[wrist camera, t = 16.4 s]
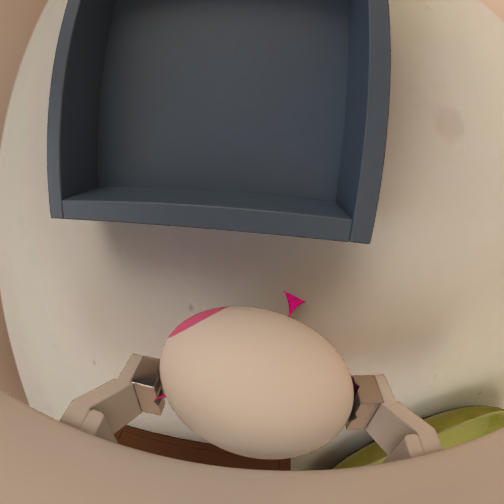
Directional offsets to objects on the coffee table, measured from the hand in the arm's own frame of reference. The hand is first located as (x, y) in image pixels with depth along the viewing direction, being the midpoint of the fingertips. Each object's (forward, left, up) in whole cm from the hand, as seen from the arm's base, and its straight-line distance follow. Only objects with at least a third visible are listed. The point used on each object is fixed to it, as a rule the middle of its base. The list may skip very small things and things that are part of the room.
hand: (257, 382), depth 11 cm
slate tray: (-3, +12, -3) cm, 12 cm away
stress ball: (0, 0, -3) cm, 3 cm away
